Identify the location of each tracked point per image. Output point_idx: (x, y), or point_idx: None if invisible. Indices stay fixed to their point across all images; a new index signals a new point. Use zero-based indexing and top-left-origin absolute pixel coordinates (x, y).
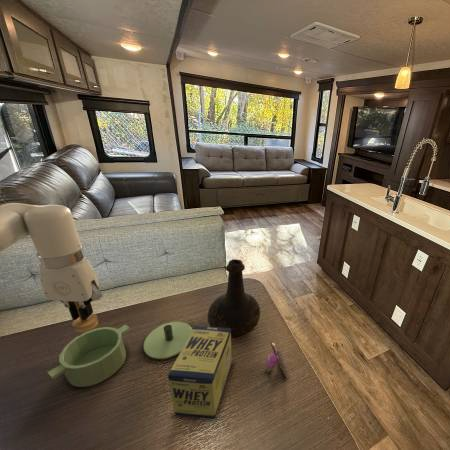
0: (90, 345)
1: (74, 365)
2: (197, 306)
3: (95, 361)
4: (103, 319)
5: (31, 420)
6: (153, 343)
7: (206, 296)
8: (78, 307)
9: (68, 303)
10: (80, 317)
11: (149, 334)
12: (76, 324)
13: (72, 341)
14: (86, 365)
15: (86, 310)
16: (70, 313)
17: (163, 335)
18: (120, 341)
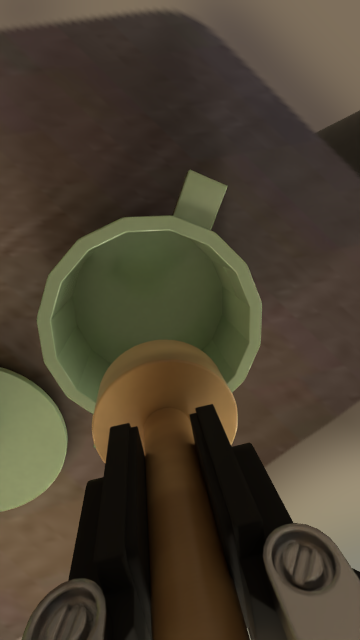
0: (216, 349)
1: (217, 280)
2: (4, 578)
3: (65, 267)
4: (277, 446)
5: (182, 89)
6: (16, 412)
7: (7, 621)
8: (172, 560)
9: (290, 635)
10: (171, 439)
11: (63, 439)
12: (187, 381)
13: (254, 331)
14: (85, 241)
15: (80, 539)
16: (232, 455)
17: (8, 449)
18: (56, 380)
